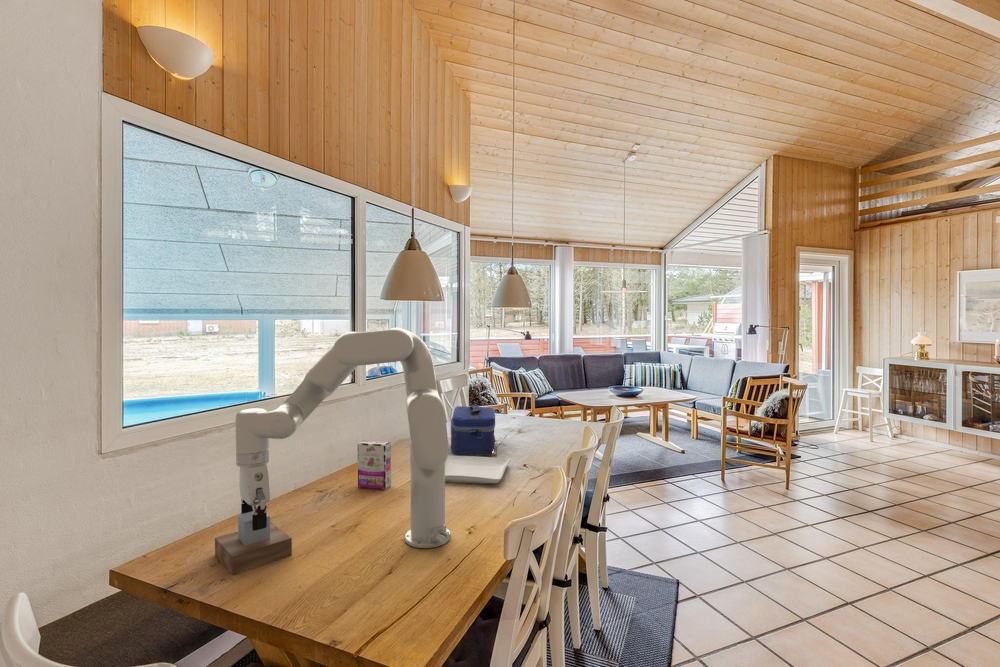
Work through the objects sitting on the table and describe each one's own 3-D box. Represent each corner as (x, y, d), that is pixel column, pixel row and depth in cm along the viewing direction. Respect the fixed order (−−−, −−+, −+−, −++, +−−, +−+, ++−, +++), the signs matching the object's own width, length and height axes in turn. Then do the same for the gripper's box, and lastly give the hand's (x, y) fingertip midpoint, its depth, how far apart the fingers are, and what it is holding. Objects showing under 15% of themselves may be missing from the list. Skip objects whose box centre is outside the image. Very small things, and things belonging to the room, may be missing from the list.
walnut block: (291, 556, 126) (291, 537, 126) (232, 577, 116) (232, 556, 116) (271, 539, 136) (271, 521, 136) (215, 556, 126) (214, 537, 126)
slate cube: (270, 538, 126) (269, 515, 126) (244, 545, 122) (244, 522, 122) (263, 531, 130) (263, 508, 130) (238, 537, 126) (238, 514, 126)
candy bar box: (391, 485, 179) (391, 441, 178) (385, 490, 174) (385, 444, 174) (364, 483, 182) (363, 439, 181) (357, 487, 177) (356, 442, 176)
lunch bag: (497, 457, 216) (497, 411, 216) (450, 458, 215) (450, 412, 214) (492, 440, 247) (492, 400, 247) (450, 441, 245) (451, 400, 245)
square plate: (501, 488, 178) (501, 478, 177) (428, 484, 182) (428, 474, 182) (511, 466, 204) (511, 457, 204) (447, 463, 209) (447, 454, 208)
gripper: (279, 461, 122) (280, 529, 122) (258, 448, 134) (259, 509, 135) (246, 468, 117) (247, 538, 117) (227, 453, 129) (228, 516, 130)
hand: (253, 522), depth 126 cm, fingers open, 9 cm apart
